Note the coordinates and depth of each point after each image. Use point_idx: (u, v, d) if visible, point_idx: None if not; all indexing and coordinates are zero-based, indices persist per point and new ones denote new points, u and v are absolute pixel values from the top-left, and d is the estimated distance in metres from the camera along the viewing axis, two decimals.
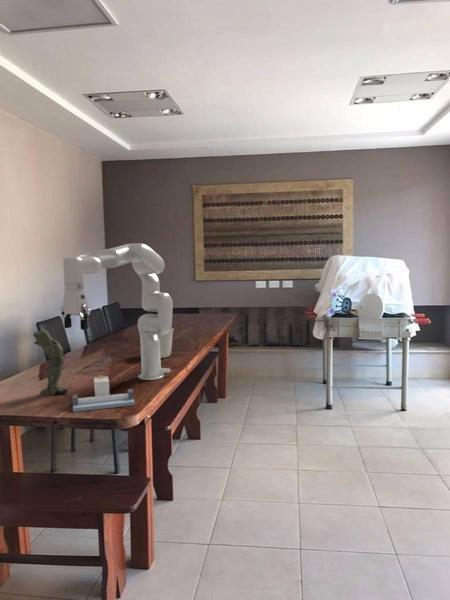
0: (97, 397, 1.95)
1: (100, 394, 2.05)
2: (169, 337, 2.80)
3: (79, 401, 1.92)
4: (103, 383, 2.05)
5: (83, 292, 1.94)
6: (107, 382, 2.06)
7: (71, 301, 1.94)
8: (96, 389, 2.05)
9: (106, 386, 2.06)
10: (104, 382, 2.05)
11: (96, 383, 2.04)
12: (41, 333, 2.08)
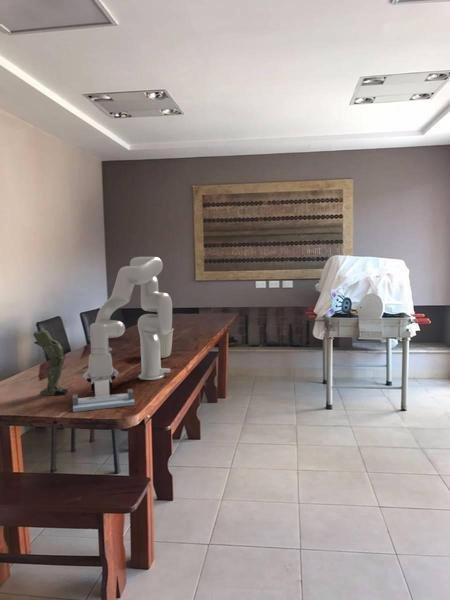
0: (97, 397, 1.95)
1: (100, 394, 2.05)
2: (169, 337, 2.80)
3: (79, 401, 1.92)
4: (103, 383, 2.05)
5: (110, 354, 2.10)
6: (107, 382, 2.06)
7: (103, 364, 2.06)
8: (96, 389, 2.05)
9: (106, 386, 2.06)
10: (104, 382, 2.05)
11: (96, 383, 2.04)
12: (41, 333, 2.08)
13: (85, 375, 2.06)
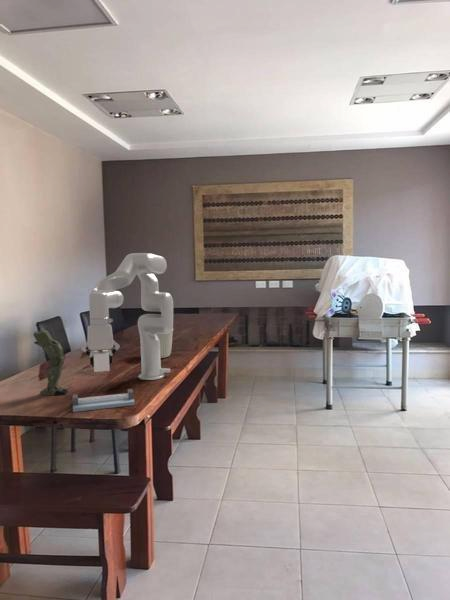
0: (97, 397, 1.95)
1: (99, 368, 1.92)
2: (169, 337, 2.80)
3: (79, 401, 1.92)
4: (103, 356, 1.92)
5: None
6: (107, 355, 1.92)
7: (102, 336, 1.93)
8: (95, 362, 1.91)
9: (106, 359, 1.92)
10: (104, 355, 1.92)
11: (95, 356, 1.91)
12: (41, 333, 2.08)
13: (84, 348, 1.93)
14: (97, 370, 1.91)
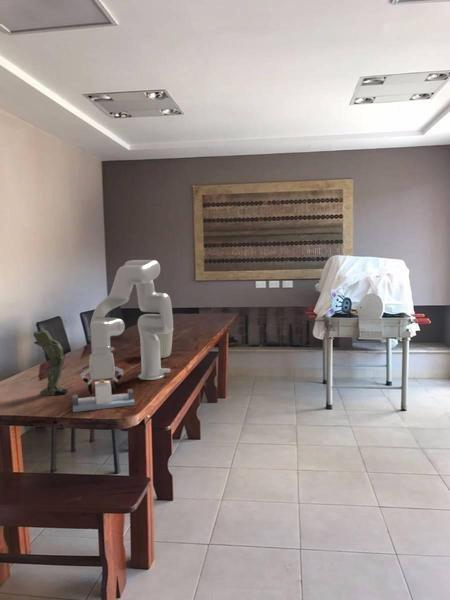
0: None
1: (102, 400, 1.92)
2: (169, 337, 2.80)
3: (79, 401, 1.92)
4: (105, 388, 1.92)
5: (112, 354, 1.96)
6: (109, 387, 1.92)
7: (104, 365, 1.93)
8: (97, 394, 1.91)
9: (108, 391, 1.92)
10: (106, 387, 1.92)
11: (97, 388, 1.91)
12: (41, 333, 2.08)
13: (83, 374, 1.92)
14: (99, 402, 1.92)
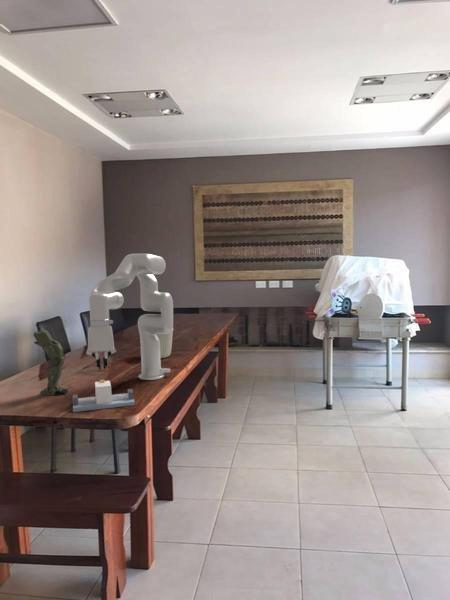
0: None
1: (102, 400, 1.92)
2: (169, 337, 2.80)
3: (79, 401, 1.92)
4: (105, 388, 1.92)
5: (111, 327, 1.95)
6: (109, 387, 1.92)
7: (103, 338, 1.92)
8: (97, 394, 1.91)
9: (108, 391, 1.92)
10: (106, 387, 1.92)
11: (97, 388, 1.91)
12: (41, 333, 2.08)
13: (88, 351, 1.92)
14: (99, 402, 1.92)
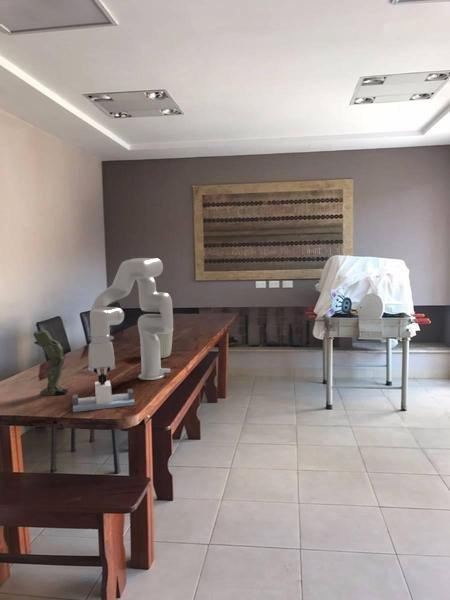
0: None
1: (102, 400, 1.92)
2: (169, 337, 2.80)
3: (79, 401, 1.92)
4: (105, 388, 1.92)
5: None
6: (109, 387, 1.92)
7: (103, 354, 1.92)
8: (97, 394, 1.91)
9: (108, 391, 1.92)
10: (106, 387, 1.92)
11: (97, 388, 1.91)
12: (41, 333, 2.08)
13: (90, 368, 1.93)
14: (99, 402, 1.92)
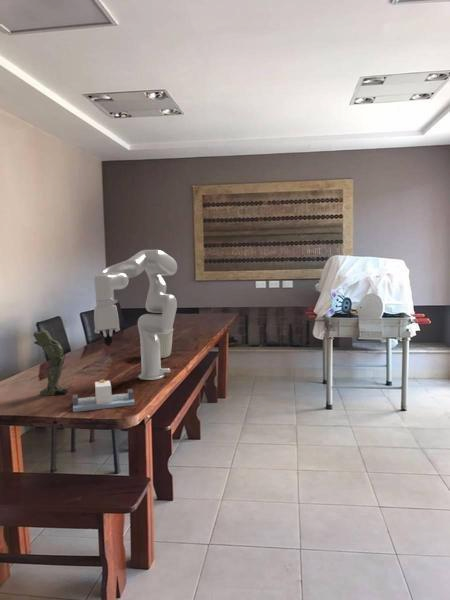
0: None
1: (102, 400, 1.92)
2: (169, 337, 2.80)
3: (79, 401, 1.92)
4: (105, 388, 1.92)
5: (116, 307, 2.06)
6: (109, 387, 1.92)
7: (109, 316, 2.02)
8: (97, 394, 1.91)
9: (108, 391, 1.92)
10: (106, 387, 1.92)
11: (97, 388, 1.91)
12: (41, 333, 2.08)
13: (96, 330, 2.03)
14: (99, 402, 1.92)
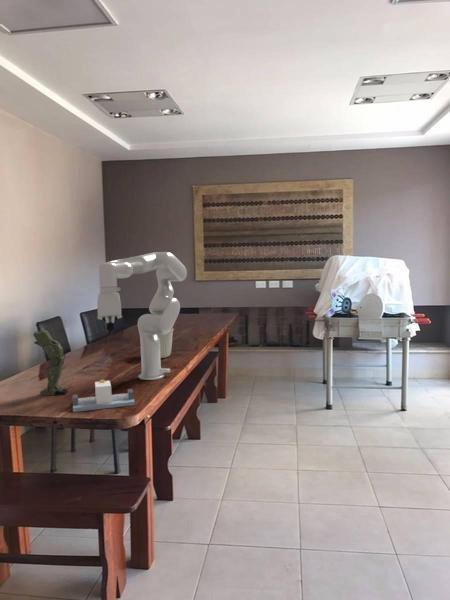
0: None
1: (102, 400, 1.92)
2: (169, 337, 2.80)
3: (79, 401, 1.92)
4: (105, 388, 1.92)
5: None
6: (109, 387, 1.92)
7: (111, 303, 2.09)
8: (97, 394, 1.91)
9: (108, 391, 1.92)
10: (106, 387, 1.92)
11: (97, 388, 1.91)
12: (41, 333, 2.08)
13: (99, 316, 2.10)
14: (99, 402, 1.92)
